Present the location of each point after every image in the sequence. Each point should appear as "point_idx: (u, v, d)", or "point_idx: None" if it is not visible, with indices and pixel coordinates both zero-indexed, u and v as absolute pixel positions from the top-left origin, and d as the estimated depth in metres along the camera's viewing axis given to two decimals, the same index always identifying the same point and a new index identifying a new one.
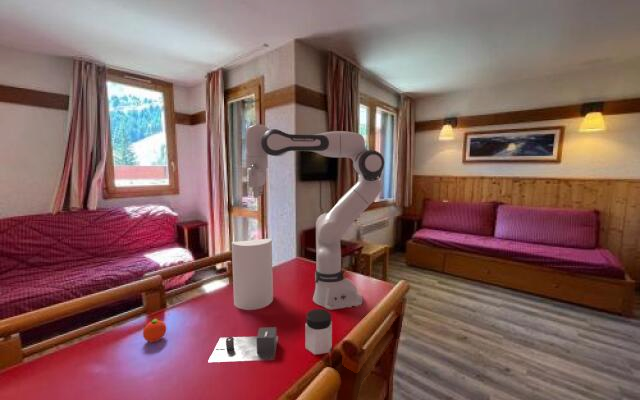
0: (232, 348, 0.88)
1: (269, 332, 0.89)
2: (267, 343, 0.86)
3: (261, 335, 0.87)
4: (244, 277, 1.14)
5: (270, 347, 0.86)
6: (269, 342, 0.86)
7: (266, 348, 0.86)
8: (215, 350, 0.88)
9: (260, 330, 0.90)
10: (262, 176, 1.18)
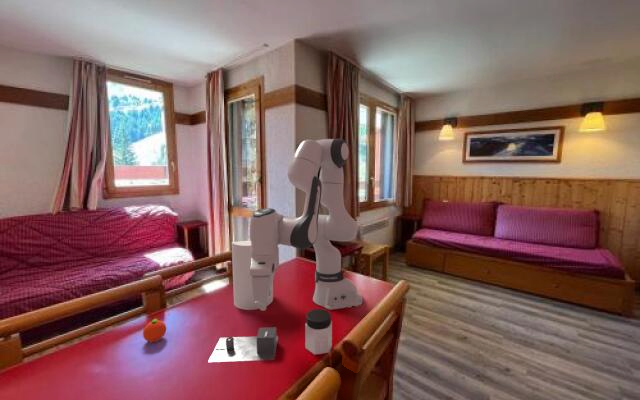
0: (232, 348, 0.88)
1: (269, 332, 0.89)
2: (267, 343, 0.86)
3: (261, 335, 0.87)
4: (244, 277, 1.14)
5: (270, 347, 0.86)
6: (269, 342, 0.86)
7: (266, 348, 0.86)
8: (215, 350, 0.88)
9: (260, 330, 0.90)
10: None
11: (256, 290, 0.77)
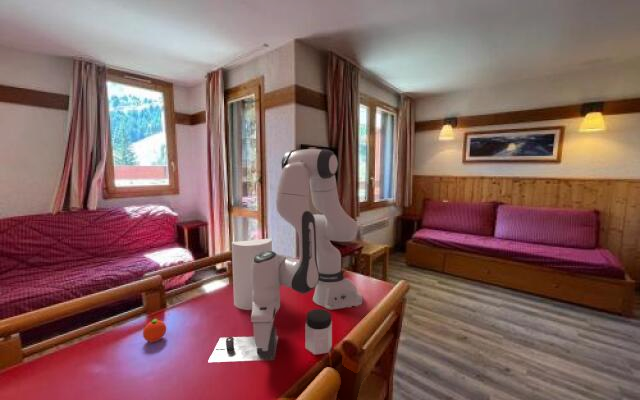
0: (232, 348, 0.88)
1: None
2: None
3: None
4: (244, 277, 1.14)
5: (270, 347, 0.86)
6: (269, 342, 0.86)
7: None
8: (215, 350, 0.88)
9: None
10: None
11: (257, 337, 0.78)
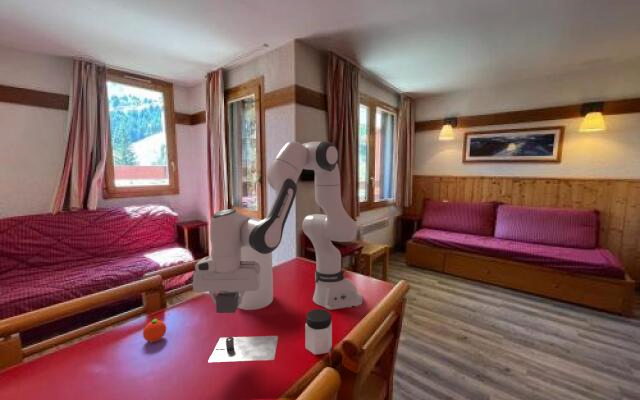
0: (232, 348, 0.88)
1: (226, 294, 0.86)
2: None
3: None
4: None
5: None
6: None
7: None
8: (215, 350, 0.88)
9: None
10: None
11: None
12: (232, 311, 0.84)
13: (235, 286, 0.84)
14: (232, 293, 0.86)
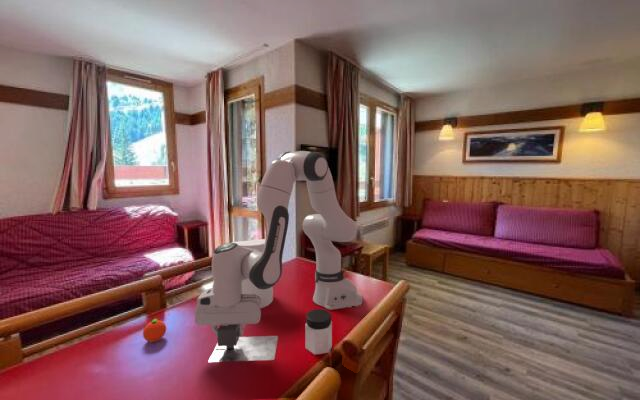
0: (232, 348, 0.88)
1: (228, 326, 0.87)
2: None
3: None
4: None
5: None
6: None
7: None
8: (215, 350, 0.88)
9: None
10: None
11: None
12: (233, 344, 0.86)
13: (236, 319, 0.86)
14: (233, 325, 0.87)
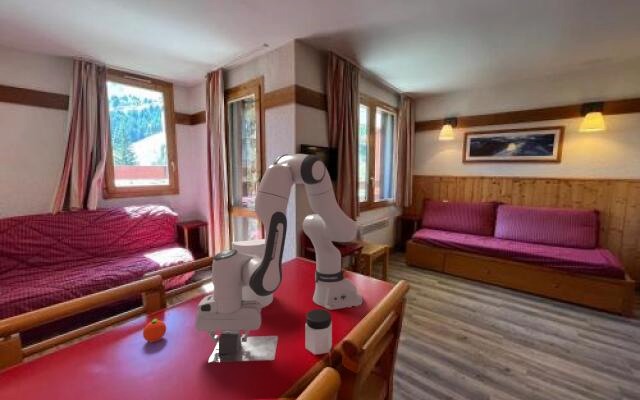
0: None
1: (229, 334, 0.87)
2: None
3: None
4: None
5: None
6: None
7: None
8: (215, 350, 0.88)
9: None
10: None
11: None
12: (234, 352, 0.86)
13: (237, 325, 0.86)
14: (234, 334, 0.88)
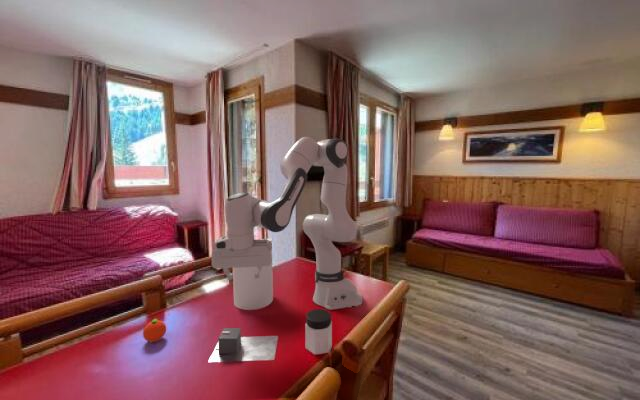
0: None
1: (229, 334, 0.87)
2: None
3: (226, 330, 0.90)
4: (244, 277, 1.14)
5: None
6: None
7: None
8: (215, 350, 0.88)
9: (235, 329, 0.90)
10: None
11: None
12: (234, 352, 0.86)
13: (250, 262, 0.93)
14: (234, 334, 0.88)
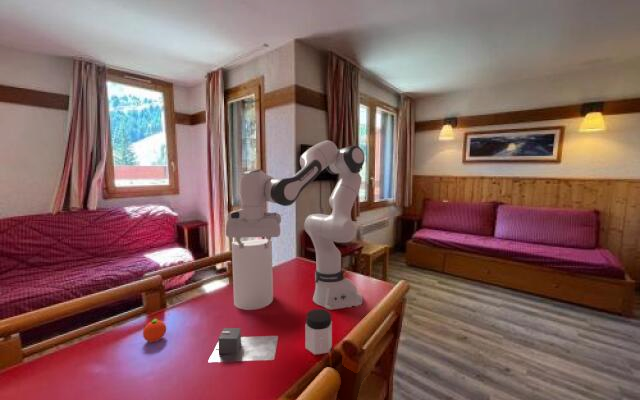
0: None
1: (229, 334, 0.87)
2: None
3: (226, 330, 0.90)
4: (244, 277, 1.14)
5: None
6: None
7: None
8: (215, 350, 0.88)
9: (235, 329, 0.90)
10: None
11: None
12: (234, 352, 0.86)
13: (260, 232, 1.02)
14: (234, 334, 0.88)
